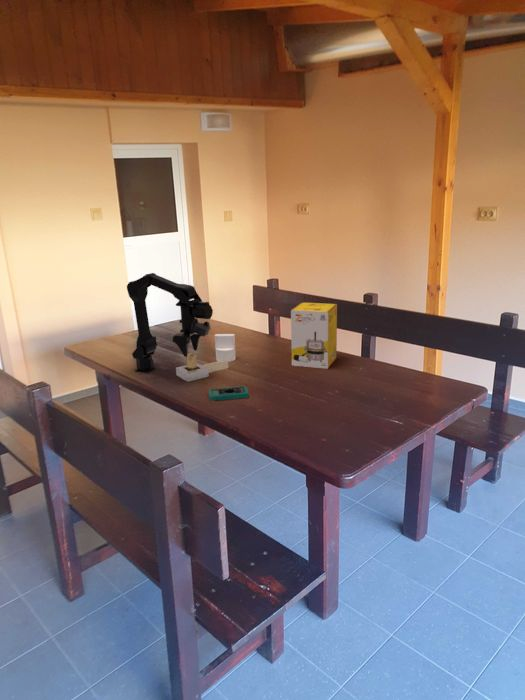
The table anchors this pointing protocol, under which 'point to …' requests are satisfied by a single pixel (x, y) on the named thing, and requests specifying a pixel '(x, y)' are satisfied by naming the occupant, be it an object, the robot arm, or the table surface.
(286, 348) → the table surface
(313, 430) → the table surface
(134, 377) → the table surface
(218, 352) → the base with upright slab
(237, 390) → the digital multimeter
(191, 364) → the brown mottled cylinder
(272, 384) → the table surface
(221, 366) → the square frame with handle
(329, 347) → the packaging box
